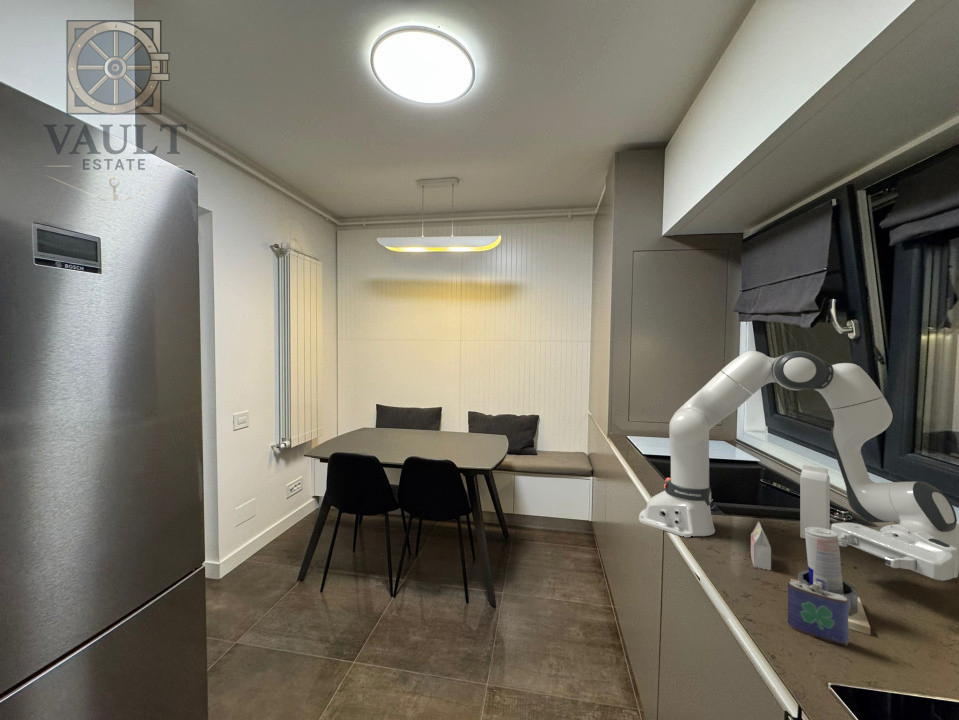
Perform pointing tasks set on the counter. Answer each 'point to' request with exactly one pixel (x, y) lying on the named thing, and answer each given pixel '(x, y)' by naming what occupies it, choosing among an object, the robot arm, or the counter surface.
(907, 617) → the counter surface
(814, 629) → the flask
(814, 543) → the beverage can
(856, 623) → the collar stand
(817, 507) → the milk
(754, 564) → the small drink carton
